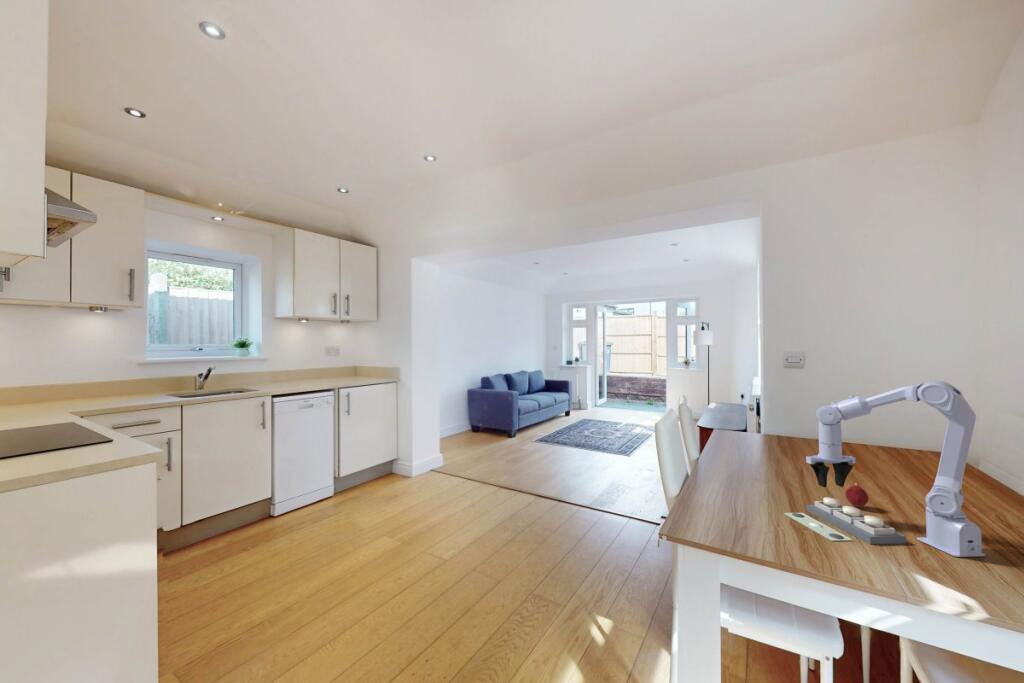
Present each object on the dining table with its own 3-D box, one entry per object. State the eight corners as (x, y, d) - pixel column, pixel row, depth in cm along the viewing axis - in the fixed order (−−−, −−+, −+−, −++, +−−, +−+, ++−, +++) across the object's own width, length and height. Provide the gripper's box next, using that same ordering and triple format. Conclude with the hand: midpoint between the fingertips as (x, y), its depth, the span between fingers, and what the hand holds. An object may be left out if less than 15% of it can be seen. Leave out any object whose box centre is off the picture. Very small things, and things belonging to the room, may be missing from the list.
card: (853, 540, 108) (853, 539, 108) (832, 541, 107) (831, 539, 107) (802, 513, 126) (802, 512, 126) (784, 513, 125) (784, 512, 125)
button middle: (864, 517, 115) (863, 511, 115) (851, 517, 115) (850, 511, 115) (851, 511, 119) (851, 505, 119) (839, 511, 119) (839, 506, 119)
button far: (843, 507, 122) (843, 502, 122) (830, 508, 122) (830, 502, 122) (832, 502, 126) (832, 497, 126) (820, 503, 126) (820, 497, 126)
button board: (906, 543, 106) (905, 530, 106) (870, 544, 106) (870, 531, 106) (836, 510, 128) (835, 499, 128) (806, 510, 128) (806, 500, 128)
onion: (873, 511, 127) (872, 487, 127) (852, 510, 128) (852, 485, 128) (861, 504, 133) (860, 481, 133) (841, 503, 134) (841, 480, 134)
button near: (887, 528, 108) (887, 521, 108) (873, 528, 108) (873, 521, 108) (873, 521, 112) (873, 515, 112) (860, 522, 112) (860, 515, 112)
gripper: (841, 440, 129) (842, 481, 128) (798, 440, 128) (799, 482, 128) (861, 445, 122) (862, 489, 121) (815, 445, 121) (816, 489, 121)
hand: (831, 486), depth 124 cm, fingers open, 5 cm apart
